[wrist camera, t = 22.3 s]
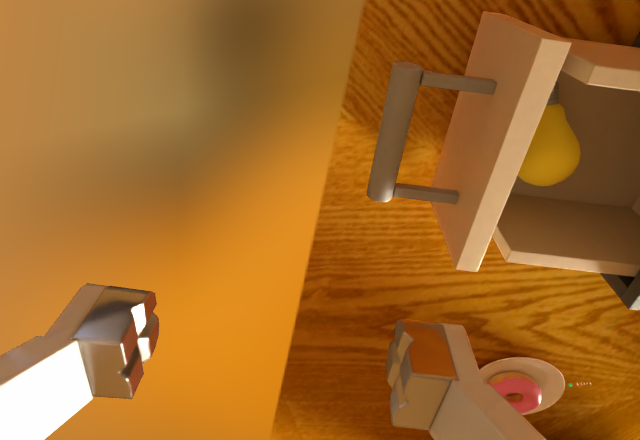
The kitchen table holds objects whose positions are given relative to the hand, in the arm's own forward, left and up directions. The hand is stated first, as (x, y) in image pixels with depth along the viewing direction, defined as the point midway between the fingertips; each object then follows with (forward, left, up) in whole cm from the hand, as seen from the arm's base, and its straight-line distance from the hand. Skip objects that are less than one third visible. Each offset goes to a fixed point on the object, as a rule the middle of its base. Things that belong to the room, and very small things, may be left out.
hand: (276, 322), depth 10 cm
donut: (+23, -24, -19) cm, 38 cm away
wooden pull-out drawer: (+13, 0, -18) cm, 22 cm away
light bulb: (+13, 0, -17) cm, 22 cm away
